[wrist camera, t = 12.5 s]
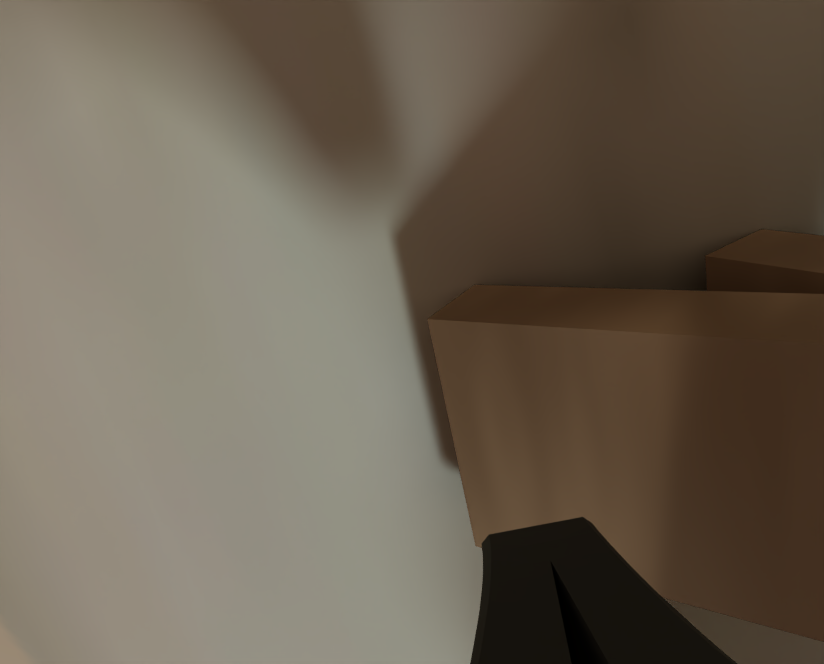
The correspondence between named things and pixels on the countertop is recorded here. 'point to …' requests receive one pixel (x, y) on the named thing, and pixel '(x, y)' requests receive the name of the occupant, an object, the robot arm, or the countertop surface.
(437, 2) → the countertop surface
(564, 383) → the brown flat rectangular block
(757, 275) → the domino
